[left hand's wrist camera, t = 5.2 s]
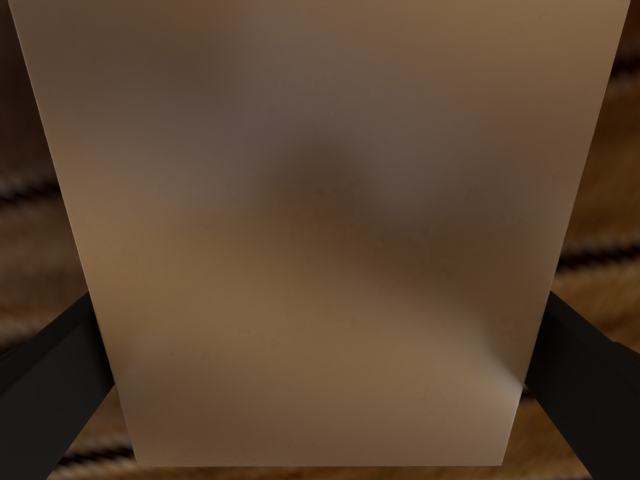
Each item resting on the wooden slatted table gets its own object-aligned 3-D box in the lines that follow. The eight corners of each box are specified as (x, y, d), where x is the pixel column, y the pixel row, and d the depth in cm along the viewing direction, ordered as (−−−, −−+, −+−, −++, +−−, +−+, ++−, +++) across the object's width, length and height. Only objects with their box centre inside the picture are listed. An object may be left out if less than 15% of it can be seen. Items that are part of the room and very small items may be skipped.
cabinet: (146, -238, 11) (-317, -1152, 3) (490, -237, 11) (950, -1140, 3) (216, 307, 18) (137, 467, 10) (422, 307, 18) (502, 466, 10)
